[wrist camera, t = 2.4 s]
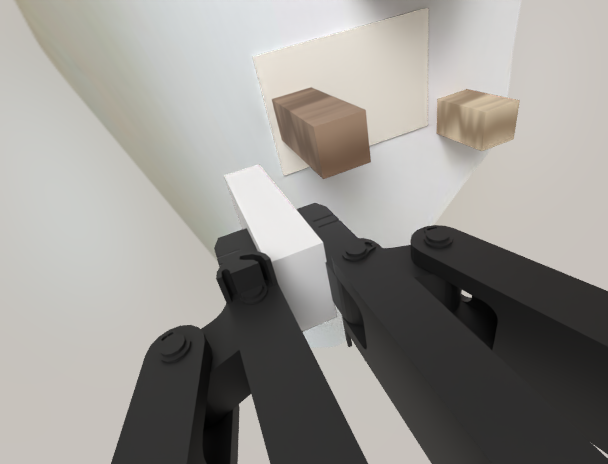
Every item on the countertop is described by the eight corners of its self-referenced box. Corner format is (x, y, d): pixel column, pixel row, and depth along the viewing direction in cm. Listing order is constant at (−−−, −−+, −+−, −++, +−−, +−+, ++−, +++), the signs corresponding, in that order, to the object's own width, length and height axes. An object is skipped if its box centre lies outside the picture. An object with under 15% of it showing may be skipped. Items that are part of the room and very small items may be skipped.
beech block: (437, 99, 43) (485, 112, 37) (467, 89, 44) (519, 100, 38) (436, 133, 46) (481, 151, 40) (464, 123, 47) (513, 139, 40)
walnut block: (271, 98, 36) (313, 126, 26) (310, 87, 37) (365, 109, 27) (281, 139, 39) (323, 179, 29) (318, 127, 39) (370, 161, 30)
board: (252, 56, 34) (253, 56, 33) (426, 7, 37) (428, 7, 37) (283, 174, 41) (284, 175, 41) (425, 124, 45) (427, 125, 44)
